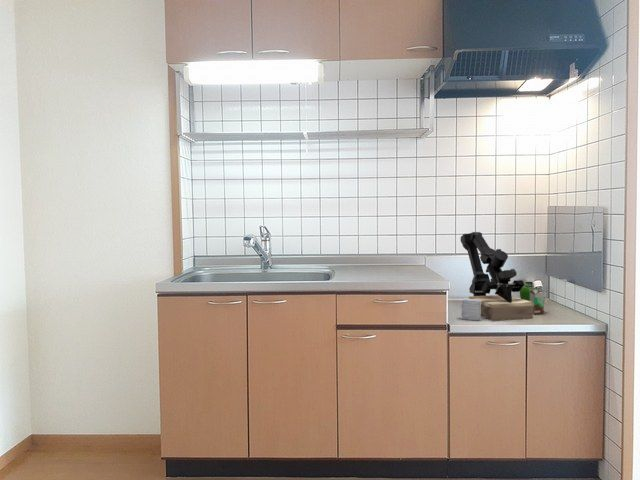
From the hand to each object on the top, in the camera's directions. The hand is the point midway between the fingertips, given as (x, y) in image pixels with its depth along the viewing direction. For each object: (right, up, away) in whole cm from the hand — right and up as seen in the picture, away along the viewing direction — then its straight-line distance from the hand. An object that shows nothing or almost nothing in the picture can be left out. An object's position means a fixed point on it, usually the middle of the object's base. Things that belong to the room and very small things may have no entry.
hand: (510, 302), depth 226 cm
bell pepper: (+21, -5, +33) cm, 39 cm away
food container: (+18, -6, +13) cm, 23 cm away
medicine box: (-17, -8, 0) cm, 19 cm away
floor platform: (-2, -7, +8) cm, 11 cm away
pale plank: (-1, -1, +5) cm, 5 cm away
